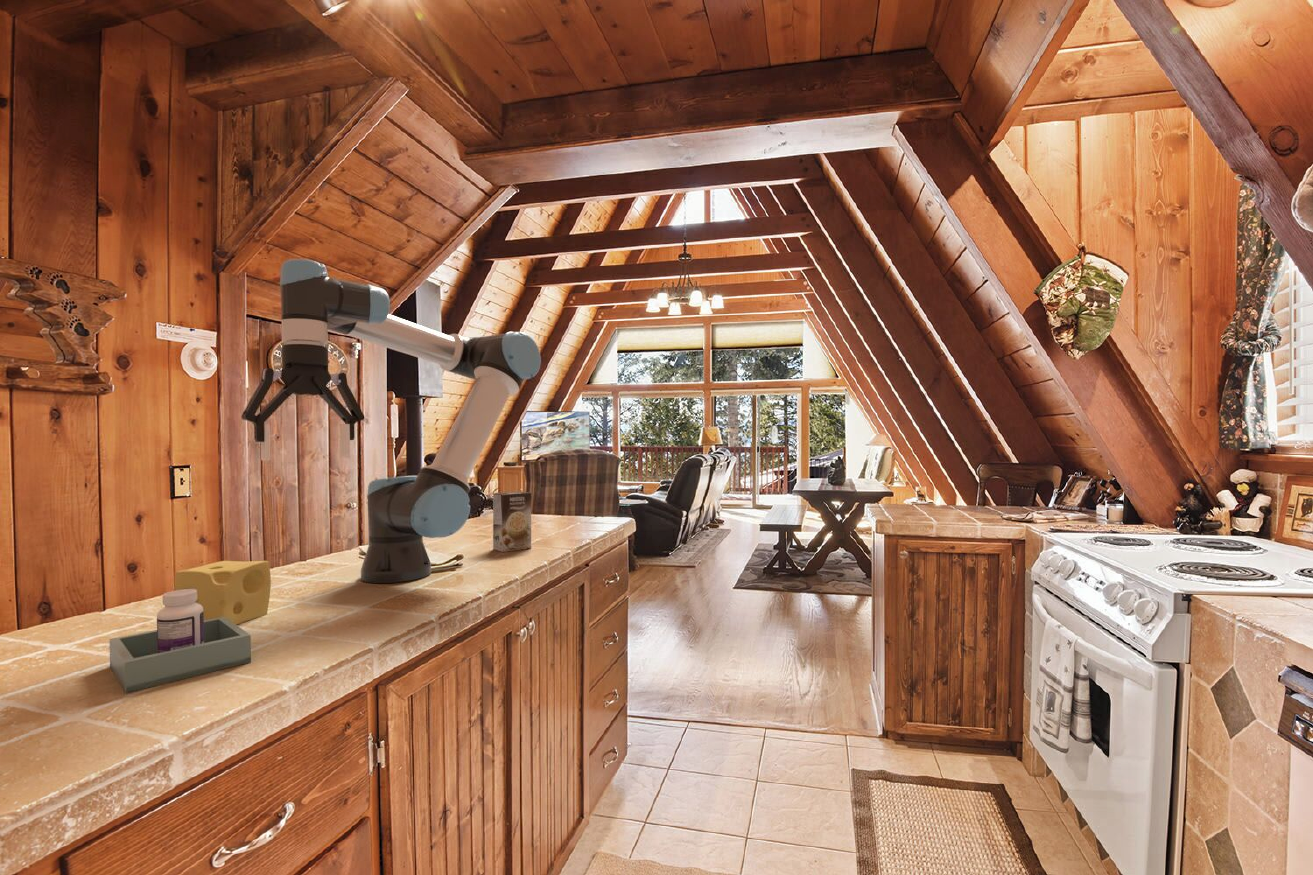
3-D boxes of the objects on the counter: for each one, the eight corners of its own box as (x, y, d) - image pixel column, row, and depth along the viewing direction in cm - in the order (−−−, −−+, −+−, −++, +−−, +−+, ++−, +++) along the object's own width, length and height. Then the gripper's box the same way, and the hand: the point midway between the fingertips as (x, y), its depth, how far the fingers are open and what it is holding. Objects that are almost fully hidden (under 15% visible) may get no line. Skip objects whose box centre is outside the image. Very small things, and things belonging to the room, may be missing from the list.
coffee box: (502, 552, 171) (501, 494, 170) (492, 549, 176) (491, 493, 175) (532, 548, 177) (531, 492, 176) (521, 545, 181) (520, 490, 181)
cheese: (222, 631, 105) (221, 572, 105) (171, 628, 107) (169, 570, 107) (272, 613, 115) (271, 560, 115) (224, 610, 117) (223, 558, 117)
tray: (225, 641, 100) (224, 616, 99) (251, 662, 90) (250, 634, 90) (109, 666, 89) (109, 638, 89) (125, 693, 80) (125, 662, 80)
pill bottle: (179, 651, 93) (178, 587, 92) (213, 652, 92) (212, 587, 92) (147, 665, 87) (146, 597, 87) (183, 665, 87) (182, 597, 87)
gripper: (364, 352, 127) (366, 456, 127) (219, 340, 108) (222, 461, 108) (381, 349, 122) (382, 456, 122) (231, 335, 103) (234, 462, 103)
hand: (307, 459), depth 115 cm, fingers open, 13 cm apart
